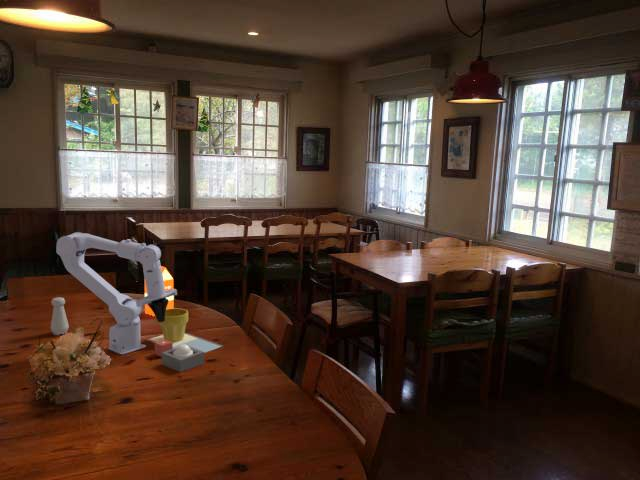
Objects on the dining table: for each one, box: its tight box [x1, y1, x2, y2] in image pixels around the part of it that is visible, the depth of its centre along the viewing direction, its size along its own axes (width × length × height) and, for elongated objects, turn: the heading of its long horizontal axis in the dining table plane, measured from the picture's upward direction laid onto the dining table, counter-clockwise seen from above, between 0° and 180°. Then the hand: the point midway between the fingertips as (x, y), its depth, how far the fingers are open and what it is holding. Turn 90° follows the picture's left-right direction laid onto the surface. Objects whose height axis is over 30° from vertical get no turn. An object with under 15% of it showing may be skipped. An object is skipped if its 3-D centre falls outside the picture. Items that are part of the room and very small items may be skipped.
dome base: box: [161, 346, 205, 373], centre depth 167 cm, size 9×9×4 cm
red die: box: [154, 340, 173, 358], centre depth 174 cm, size 4×4×4 cm
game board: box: [146, 332, 224, 354], centre depth 185 cm, size 14×24×1 cm, turn 53°
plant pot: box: [158, 307, 189, 342], centre depth 188 cm, size 10×10×10 cm
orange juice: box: [143, 265, 175, 318], centre depth 215 cm, size 8×9×20 cm
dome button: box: [173, 344, 193, 358], centre depth 167 cm, size 6×6×5 cm
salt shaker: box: [50, 296, 70, 336], centre depth 189 cm, size 6×6×13 cm
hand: (161, 321), depth 177 cm, fingers closed
